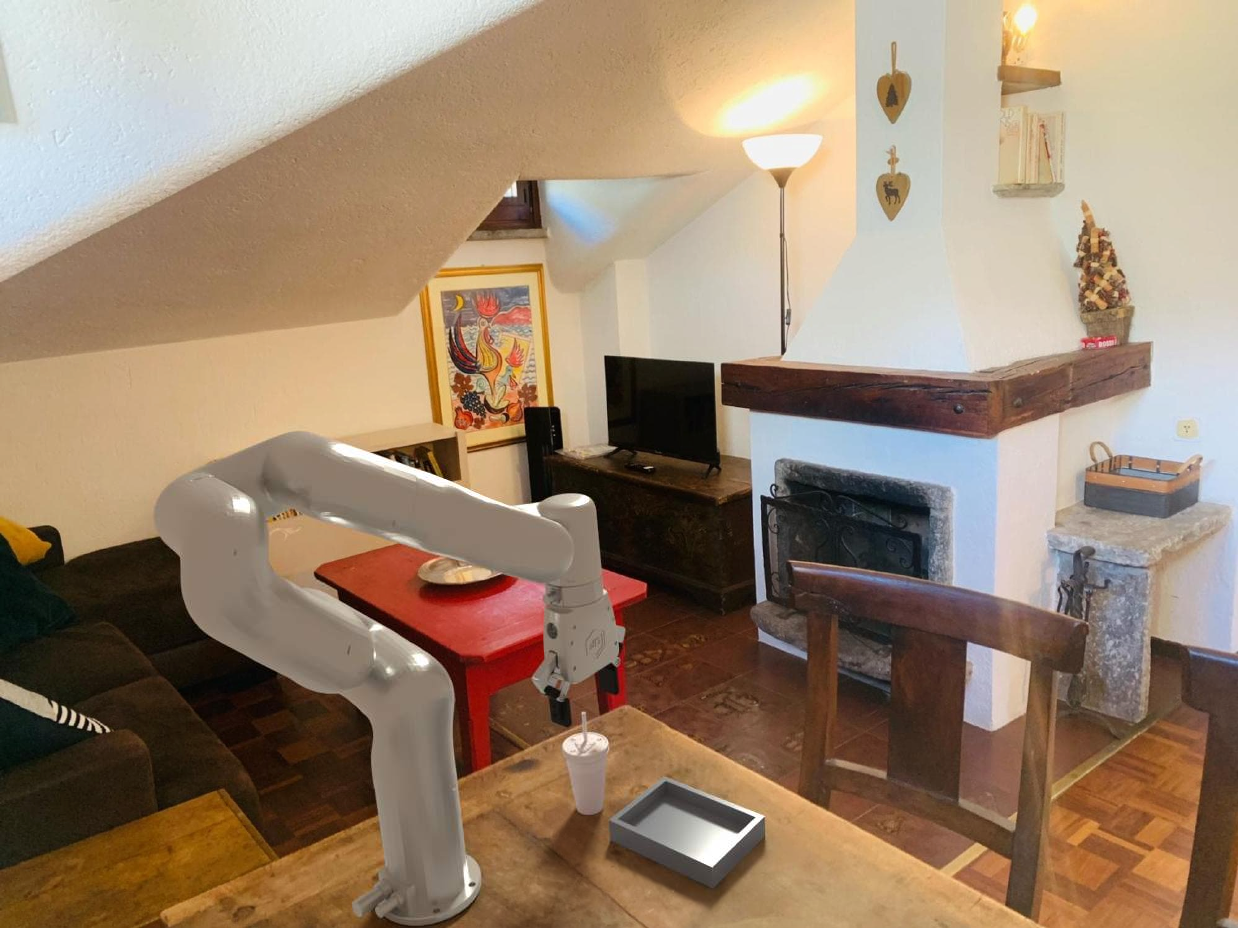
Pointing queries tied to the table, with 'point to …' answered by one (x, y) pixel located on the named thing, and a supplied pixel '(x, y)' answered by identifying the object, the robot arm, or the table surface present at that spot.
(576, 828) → the table surface
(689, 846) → the grey tray
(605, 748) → the smoothie
